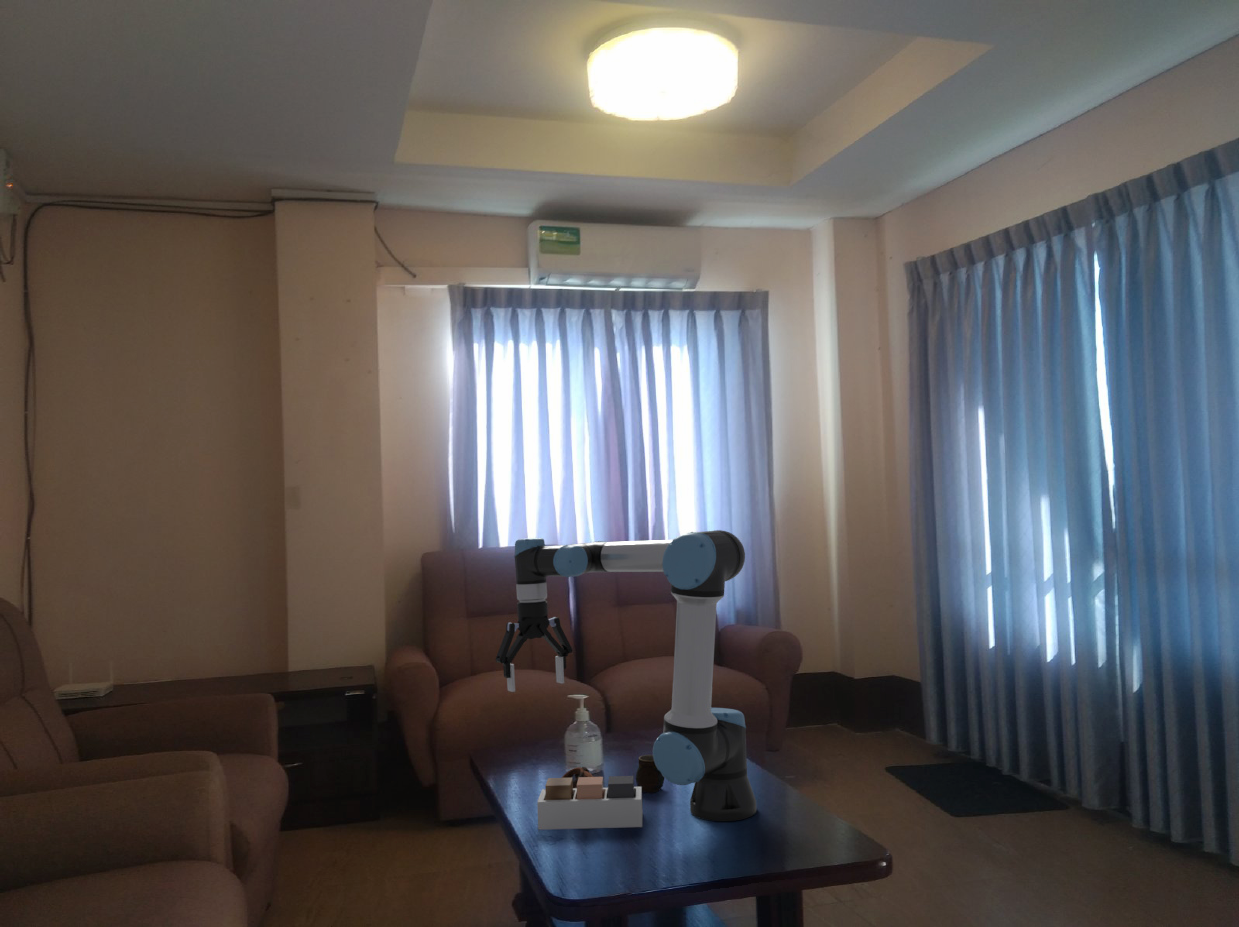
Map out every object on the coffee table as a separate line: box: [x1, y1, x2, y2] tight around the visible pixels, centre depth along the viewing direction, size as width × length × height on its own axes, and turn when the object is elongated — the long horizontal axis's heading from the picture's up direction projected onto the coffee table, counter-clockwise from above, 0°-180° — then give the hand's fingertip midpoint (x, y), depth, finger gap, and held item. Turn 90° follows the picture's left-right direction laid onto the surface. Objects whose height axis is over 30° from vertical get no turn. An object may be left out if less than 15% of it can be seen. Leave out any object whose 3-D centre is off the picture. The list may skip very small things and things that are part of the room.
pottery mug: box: [561, 766, 595, 788], centre depth 223 cm, size 12×10×8 cm
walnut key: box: [544, 777, 574, 800], centre depth 206 cm, size 6×6×5 cm
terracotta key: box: [577, 776, 604, 799], centre depth 206 cm, size 6×6×5 cm
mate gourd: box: [635, 754, 665, 794], centre depth 226 cm, size 7×8×10 cm
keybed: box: [536, 786, 644, 831], centre depth 206 cm, size 23×9×6 cm, turn 88°
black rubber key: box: [607, 775, 635, 798], centre depth 206 cm, size 6×6×5 cm
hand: (536, 687), depth 225 cm, fingers open, 13 cm apart
